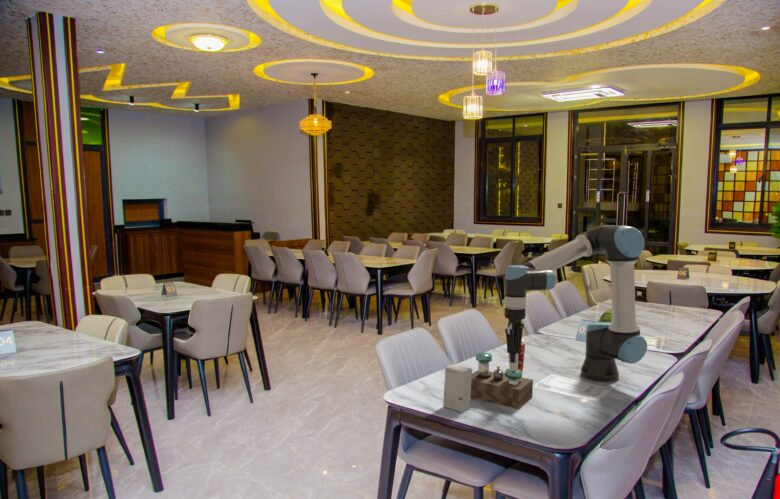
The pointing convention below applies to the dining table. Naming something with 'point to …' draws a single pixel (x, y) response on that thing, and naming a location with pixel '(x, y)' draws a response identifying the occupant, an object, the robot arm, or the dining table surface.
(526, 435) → the dining table surface
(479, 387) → the mount
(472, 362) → the dining table surface
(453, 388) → the skincare box
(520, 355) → the paper cup
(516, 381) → the green capped bottle
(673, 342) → the dining table surface
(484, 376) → the knob
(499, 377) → the potentiometer
